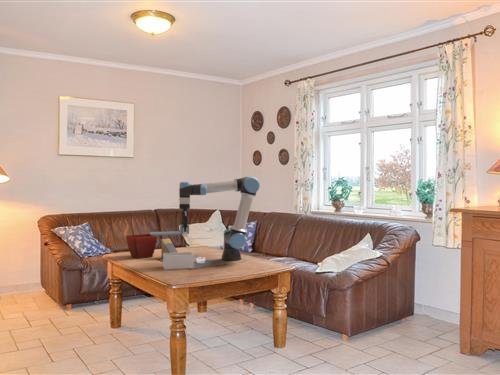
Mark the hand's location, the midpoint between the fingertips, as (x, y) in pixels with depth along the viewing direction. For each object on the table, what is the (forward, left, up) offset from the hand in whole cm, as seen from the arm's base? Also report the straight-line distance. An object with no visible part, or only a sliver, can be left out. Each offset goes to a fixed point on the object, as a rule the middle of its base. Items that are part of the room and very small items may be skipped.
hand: (184, 236), depth 319 cm
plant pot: (+29, -42, -21) cm, 56 cm away
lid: (+10, 0, +2) cm, 10 cm away
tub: (+5, +11, -21) cm, 24 cm away
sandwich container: (+7, -29, -21) cm, 36 cm away
